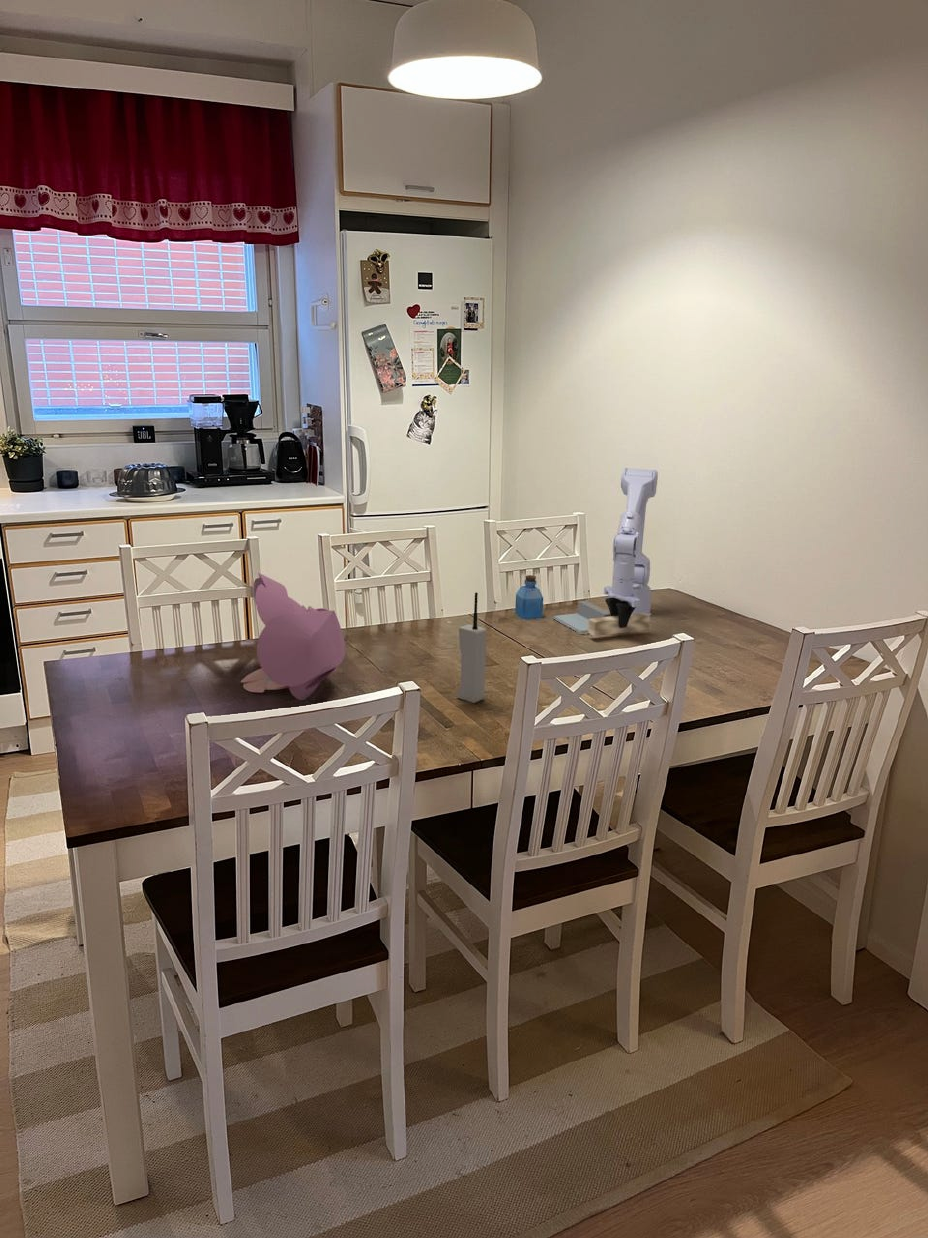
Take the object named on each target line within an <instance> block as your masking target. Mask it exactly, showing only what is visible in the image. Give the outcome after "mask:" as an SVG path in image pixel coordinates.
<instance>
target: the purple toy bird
mask: <svg viewBox="0 0 928 1238" xmlns="http://www.w3.org/2000/svg"><path fill="white" fill-rule="evenodd" d="M257 575H258V576H259V577H257V578H255V580H253V596H254V597H253V598H254V601H255V605H256V609H257V610H256V611H257V614H258V616H259V618H260V620H261V622H262V623H263V624H264V627H263V629H262V630H261V632H260V634H259V635H258V639H257V645H256V646H257V647H256V654H257V659H258V663H259V665H260V667H261V668H259V669H257V670H255V671H253V672H251V673H249V674H247V675H246V676H245V677H244V678H242V679H241V681H240V683H241V684H242V683H243V684H242V685H243V688H244V689H245V690H246V691H248V692H251V693H264V692H265V690H266V691H267V690H268V691H269V690H281V689H288V690H289V691H290V694H291V695H292V696H293V697H295V699H297V700H298V701H305V700H306V698H307V697H308V696H310V695H311V694H312V693H313V694H314V692H315V691H316V689H317V688H318V686H319V685H320V683H321V682H322V681H323V680H324V679H326V678H327V677H328V676H329V675H330V674H332V673H333V671H335V669H337V667H339V665H341V663H342V662H343V661H344V659H345V656H346V643H345V637H344V634H343V630H342V627H341V624H340V621H339V619H338V616H337V613H336V611H335V610H333V609H332V610H328V609H326V608H322V607H321V608H314V607H312V606H311V605H308V607H306V606H305V605H304V604H303V605H301V604H300V603H299V602H297V601H296V600H295V599H293V598H291V597H290V596H289V594H288V590H287V588H286V586H285V585H284V584H282V583H280V582H278V581H276V580H274V579H272V578H270V577H268V576H266V575H265V574H263V573H260V572H257ZM313 694H312V695H313ZM312 695H311V696H312ZM311 696H310V697H311ZM308 698H309V697H308ZM308 698H307V699H308Z"/></svg>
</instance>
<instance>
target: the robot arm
mask: <svg viewBox="0 0 928 1238" xmlns="http://www.w3.org/2000/svg"><path fill="white" fill-rule="evenodd" d="M658 474H659V472H658V471H657V470H656V469H654V470H653V469H639V468H627V467H624V468H623V469H622V471H621V477H620V488H621V491H622V493H623V495H625V496H626V506H625V511H624V512H623V513H621V515H620V518H619V519H620V520H619V524H618V529H617V533H616V535H614V537H613V542H612V554H613V555H612V561H613V568H612V579H611V586H604V587H603V594H604V595H607V598H605V599H604V600H605V603H606V605H607V607H608V612H610V616H619V627H620V628H625V627H627V624H628V622H629V619H630V616H631V614H637V613H645V614H647V615H650V616H652V613H651V604H652V590H651V587H650V586H649V585H648V584H649V582H650V573H651V561H650V559H649V557H647V556H646V555H645V554H644V552H643V543H644V531H645V530H644V529H645V523H646V522H645V521H646V510H647V503H648V501H649V499H651V498H654V497H656V494H657V486H658V476H659V475H658Z"/></svg>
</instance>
